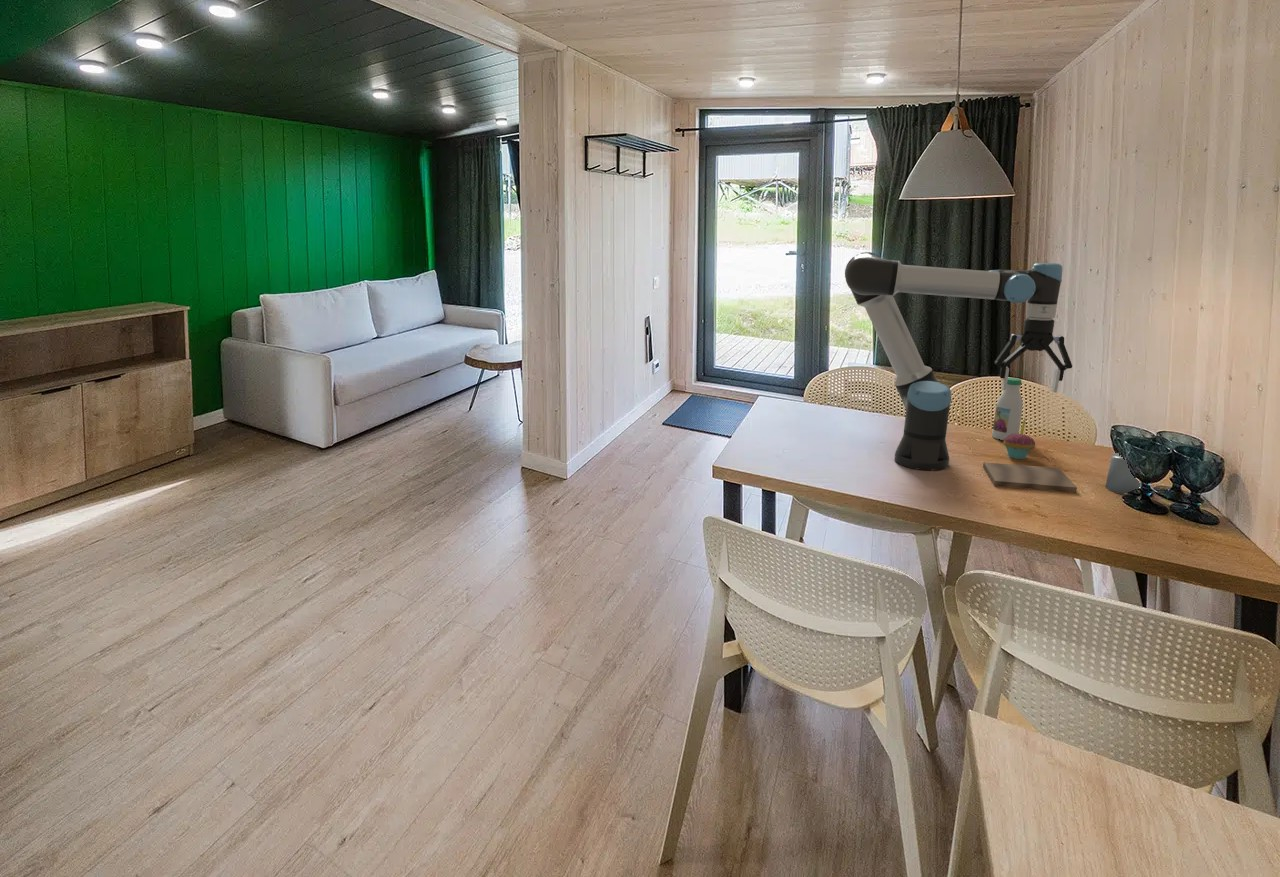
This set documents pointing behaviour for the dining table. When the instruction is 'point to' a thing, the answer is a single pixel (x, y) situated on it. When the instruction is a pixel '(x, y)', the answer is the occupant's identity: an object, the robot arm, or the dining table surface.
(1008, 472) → the walnut board
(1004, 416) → the milk bottle
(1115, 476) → the grey rounded block
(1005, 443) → the cupcake
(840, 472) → the dining table surface
